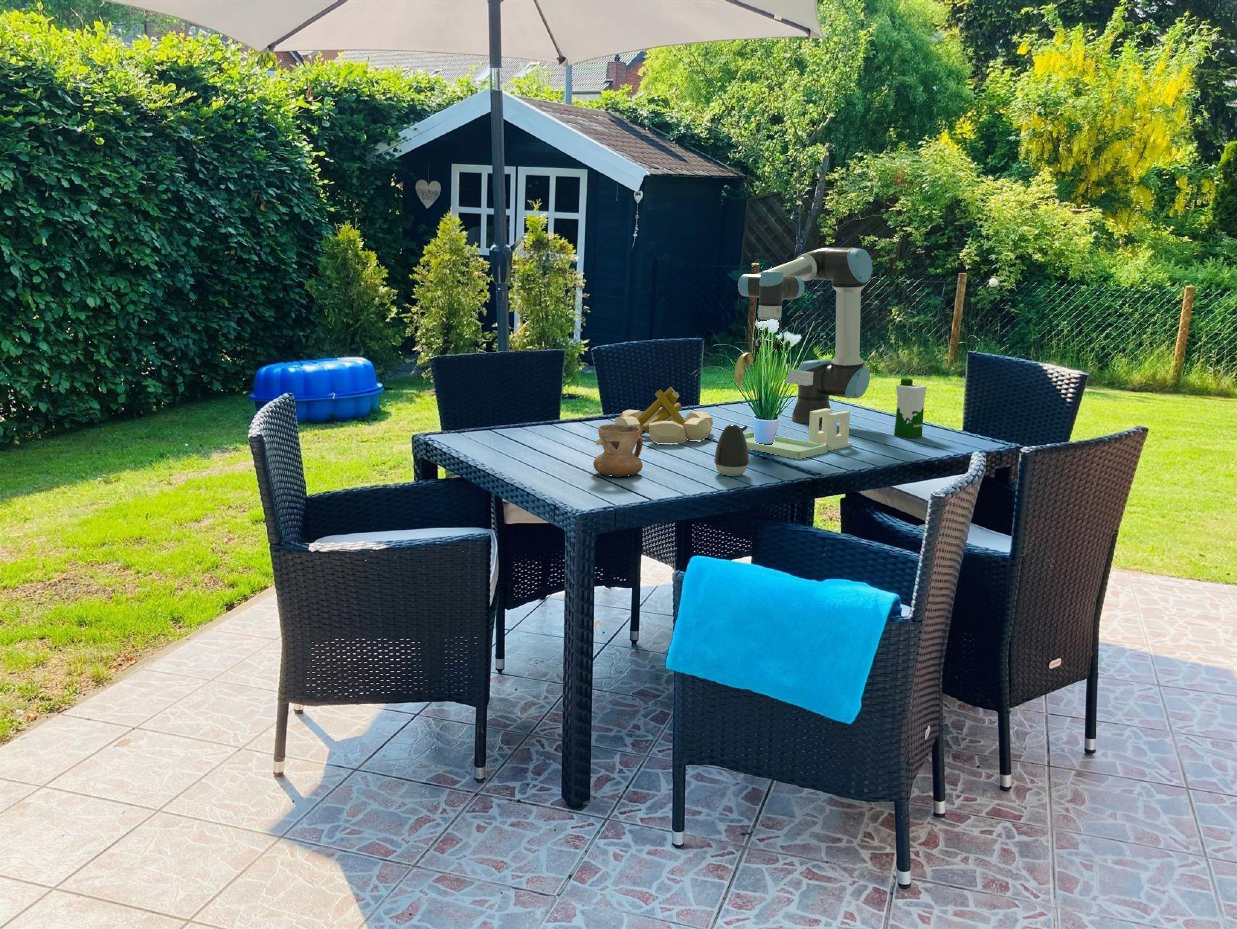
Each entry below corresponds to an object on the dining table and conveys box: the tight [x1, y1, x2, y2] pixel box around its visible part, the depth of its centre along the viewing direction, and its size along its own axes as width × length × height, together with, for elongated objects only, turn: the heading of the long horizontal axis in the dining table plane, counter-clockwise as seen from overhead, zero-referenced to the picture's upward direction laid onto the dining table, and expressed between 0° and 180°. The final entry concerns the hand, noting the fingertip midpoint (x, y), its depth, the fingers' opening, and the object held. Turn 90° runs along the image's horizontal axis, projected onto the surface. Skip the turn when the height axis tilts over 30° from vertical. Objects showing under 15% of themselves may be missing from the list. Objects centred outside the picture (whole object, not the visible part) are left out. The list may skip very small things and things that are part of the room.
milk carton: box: [893, 377, 928, 439], centre depth 379 cm, size 9×9×20 cm
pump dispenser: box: [713, 423, 750, 477], centre depth 319 cm, size 10×10×15 cm
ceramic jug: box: [593, 423, 644, 477], centre depth 318 cm, size 18×14×14 cm
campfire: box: [613, 386, 714, 444], centre depth 375 cm, size 35×34×17 cm
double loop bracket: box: [808, 408, 853, 451], centre depth 363 cm, size 11×12×12 cm
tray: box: [743, 431, 829, 460], centre depth 357 cm, size 16×31×2 cm, turn 45°
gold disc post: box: [733, 352, 813, 389], centre depth 353 cm, size 28×12×12 cm, turn 45°
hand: (766, 389), depth 357 cm, fingers closed on gold disc post, 3 cm apart
